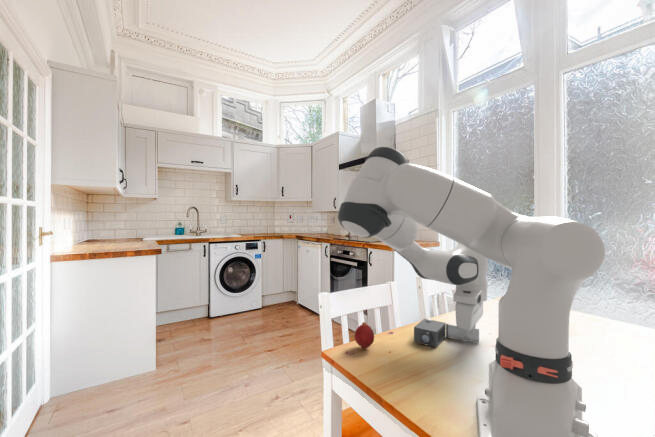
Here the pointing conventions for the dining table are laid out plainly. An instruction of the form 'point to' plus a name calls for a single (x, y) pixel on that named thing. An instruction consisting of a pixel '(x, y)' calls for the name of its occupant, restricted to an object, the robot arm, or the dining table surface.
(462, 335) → the side door
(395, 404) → the dining table surface
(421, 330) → the camera body
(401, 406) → the dining table surface
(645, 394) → the dining table surface
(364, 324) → the onion
